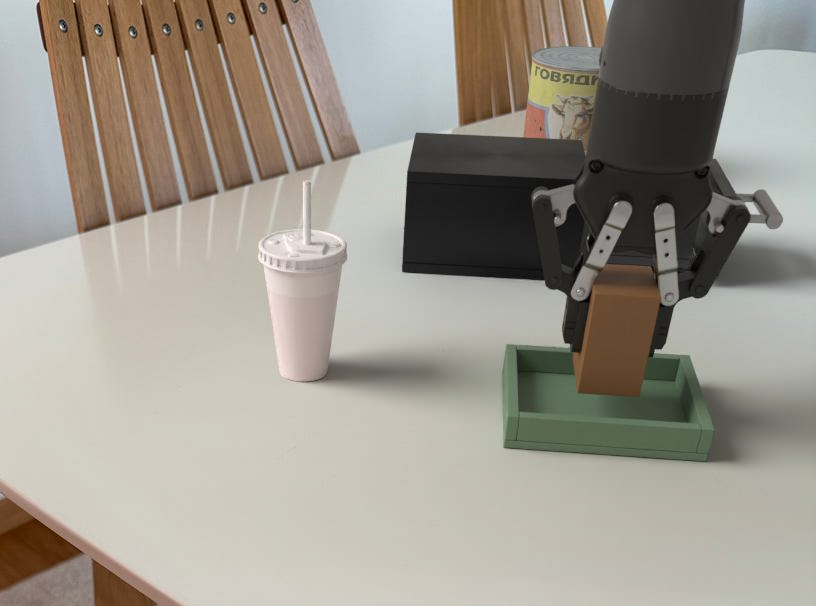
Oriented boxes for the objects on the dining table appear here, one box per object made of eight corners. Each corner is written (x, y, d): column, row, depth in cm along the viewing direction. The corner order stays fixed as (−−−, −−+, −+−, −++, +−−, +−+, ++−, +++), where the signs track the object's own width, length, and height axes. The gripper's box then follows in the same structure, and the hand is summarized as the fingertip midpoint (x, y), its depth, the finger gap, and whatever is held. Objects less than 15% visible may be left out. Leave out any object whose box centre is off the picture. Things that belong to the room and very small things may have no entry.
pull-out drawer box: (750, 235, 102) (769, 161, 98) (774, 280, 93) (797, 200, 89) (549, 225, 104) (559, 151, 99) (554, 267, 95) (566, 188, 90)
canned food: (516, 185, 117) (530, 65, 109) (520, 157, 125) (534, 43, 117) (618, 192, 115) (640, 71, 107) (616, 163, 124) (636, 48, 116)
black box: (567, 234, 105) (582, 139, 99) (575, 281, 95) (591, 180, 89) (410, 225, 106) (415, 132, 100) (401, 272, 96) (407, 171, 90)
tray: (682, 384, 79) (689, 354, 78) (706, 461, 70) (715, 430, 69) (502, 373, 80) (506, 343, 79) (503, 447, 71) (507, 416, 70)
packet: (631, 362, 75) (651, 266, 71) (639, 397, 71) (661, 297, 67) (572, 359, 76) (588, 262, 71) (577, 393, 71) (594, 293, 67)
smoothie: (292, 397, 77) (289, 199, 68) (245, 365, 81) (237, 175, 72) (361, 375, 80) (368, 183, 71) (313, 345, 83) (313, 160, 74)
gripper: (543, 83, 59) (507, 367, 70) (804, 94, 58) (725, 381, 69) (539, 55, 64) (506, 322, 75) (775, 65, 63) (707, 334, 74)
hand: (611, 349), depth 72 cm, fingers closed on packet, 4 cm apart
